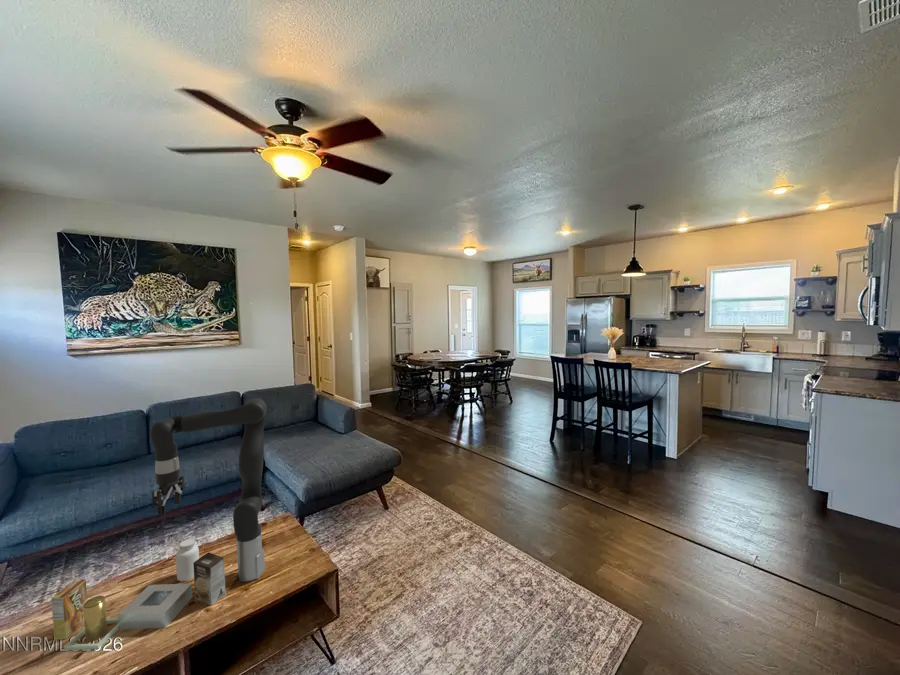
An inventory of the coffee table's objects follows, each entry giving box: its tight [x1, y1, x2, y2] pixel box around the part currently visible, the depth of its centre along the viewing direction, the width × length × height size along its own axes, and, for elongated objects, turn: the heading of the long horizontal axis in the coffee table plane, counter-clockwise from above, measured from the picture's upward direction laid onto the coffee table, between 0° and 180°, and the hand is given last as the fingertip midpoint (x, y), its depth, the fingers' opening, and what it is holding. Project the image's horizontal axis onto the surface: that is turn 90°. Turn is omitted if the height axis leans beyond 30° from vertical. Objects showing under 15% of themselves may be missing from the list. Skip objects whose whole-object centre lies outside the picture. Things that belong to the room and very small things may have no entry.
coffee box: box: [193, 552, 226, 606], centre depth 144 cm, size 9×6×16 cm
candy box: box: [50, 578, 88, 641], centre depth 130 cm, size 9×4×15 cm, turn 6°
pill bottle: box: [175, 538, 200, 582], centre depth 156 cm, size 8×8×15 cm
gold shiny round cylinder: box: [83, 595, 108, 643], centre depth 127 cm, size 5×5×13 cm
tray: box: [63, 617, 120, 651], centre depth 127 cm, size 11×11×2 cm
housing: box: [117, 583, 193, 630], centre depth 137 cm, size 16×14×6 cm
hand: (170, 508), depth 146 cm, fingers open, 8 cm apart
